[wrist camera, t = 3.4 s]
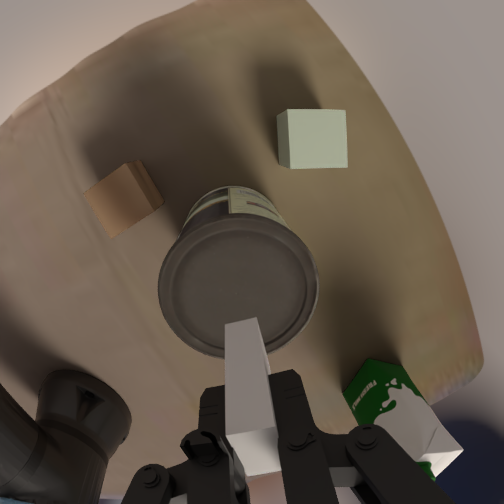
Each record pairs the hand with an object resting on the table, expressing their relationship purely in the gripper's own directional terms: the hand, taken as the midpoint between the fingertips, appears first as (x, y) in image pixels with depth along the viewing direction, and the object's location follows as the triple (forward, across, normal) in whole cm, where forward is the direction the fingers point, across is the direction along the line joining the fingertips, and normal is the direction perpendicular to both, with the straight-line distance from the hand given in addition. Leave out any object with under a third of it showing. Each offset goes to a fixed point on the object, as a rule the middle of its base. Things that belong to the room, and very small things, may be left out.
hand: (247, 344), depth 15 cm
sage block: (+20, -9, -8) cm, 23 cm away
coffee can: (+20, 0, 0) cm, 20 cm away
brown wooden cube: (+19, +9, -7) cm, 23 cm away
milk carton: (+20, -14, +26) cm, 35 cm away
